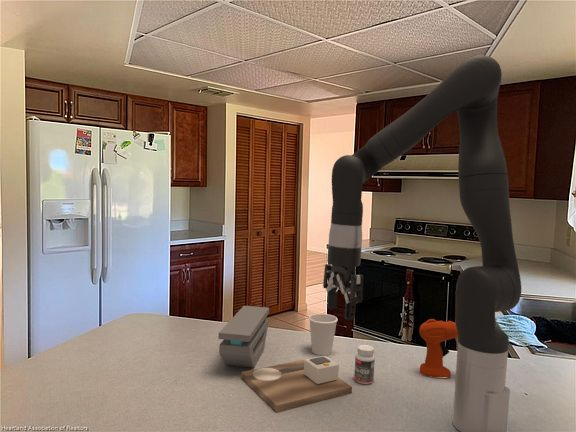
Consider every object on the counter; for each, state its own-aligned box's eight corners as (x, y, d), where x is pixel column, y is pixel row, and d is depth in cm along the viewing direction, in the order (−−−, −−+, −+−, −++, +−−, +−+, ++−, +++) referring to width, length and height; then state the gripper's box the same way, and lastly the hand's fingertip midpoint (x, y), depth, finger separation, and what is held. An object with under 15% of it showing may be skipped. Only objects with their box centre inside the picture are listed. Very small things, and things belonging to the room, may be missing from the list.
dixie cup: (336, 347, 130) (337, 314, 129) (336, 358, 122) (337, 323, 121) (308, 345, 131) (309, 312, 130) (306, 355, 123) (307, 321, 122)
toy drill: (499, 379, 109) (495, 320, 108) (421, 379, 112) (417, 322, 111) (493, 370, 114) (489, 314, 113) (418, 371, 117) (414, 317, 116)
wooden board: (351, 392, 102) (351, 385, 101) (276, 412, 92) (276, 404, 91) (309, 363, 117) (309, 357, 117) (241, 377, 107) (241, 371, 107)
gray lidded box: (248, 379, 107) (249, 335, 106) (217, 375, 108) (218, 332, 107) (268, 343, 131) (269, 307, 131) (242, 340, 132) (243, 305, 132)
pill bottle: (351, 381, 108) (353, 348, 107) (357, 374, 112) (359, 342, 111) (370, 386, 105) (372, 352, 105) (375, 379, 110) (377, 346, 109)
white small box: (338, 379, 104) (339, 363, 104) (317, 384, 101) (318, 367, 101) (323, 369, 110) (324, 354, 109) (303, 373, 107) (304, 358, 106)
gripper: (376, 249, 94) (370, 322, 95) (344, 240, 107) (339, 304, 108) (345, 249, 91) (340, 324, 92) (316, 239, 104) (312, 306, 106)
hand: (340, 313), depth 100 cm, fingers open, 8 cm apart
